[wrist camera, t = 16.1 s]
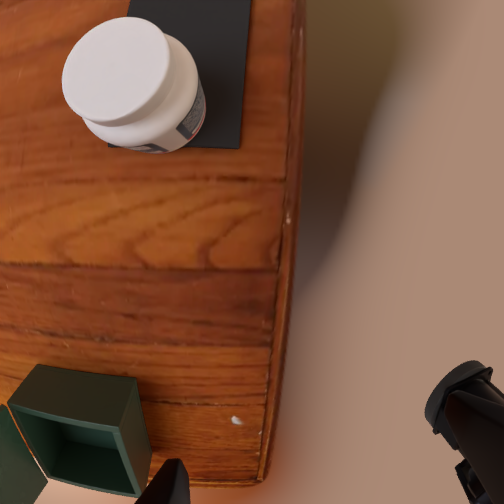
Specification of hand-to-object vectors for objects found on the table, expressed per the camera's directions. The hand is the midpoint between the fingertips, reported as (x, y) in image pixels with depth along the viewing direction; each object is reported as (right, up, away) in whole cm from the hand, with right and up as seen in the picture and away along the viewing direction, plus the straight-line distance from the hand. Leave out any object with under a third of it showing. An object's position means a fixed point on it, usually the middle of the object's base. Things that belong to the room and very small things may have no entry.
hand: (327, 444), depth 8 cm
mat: (-7, +20, +8) cm, 22 cm away
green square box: (-16, -8, +14) cm, 22 cm away
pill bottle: (-8, +14, +9) cm, 18 cm away
